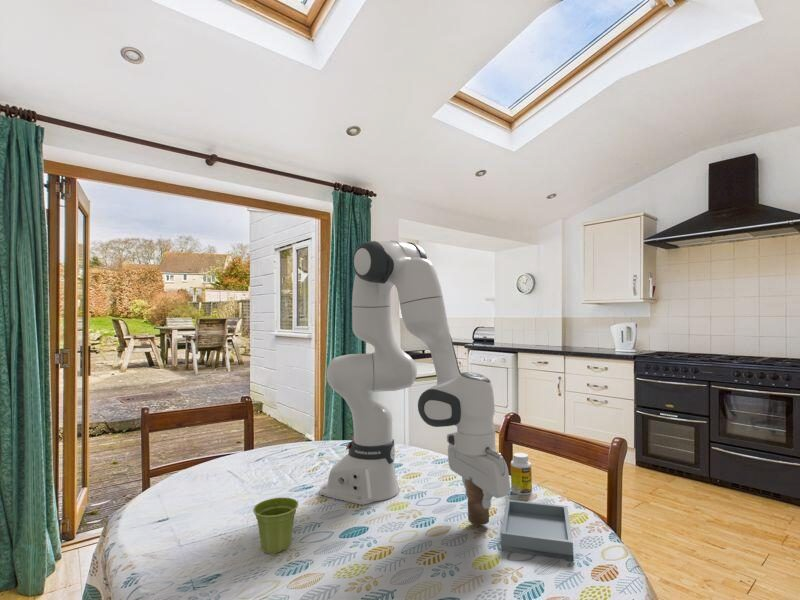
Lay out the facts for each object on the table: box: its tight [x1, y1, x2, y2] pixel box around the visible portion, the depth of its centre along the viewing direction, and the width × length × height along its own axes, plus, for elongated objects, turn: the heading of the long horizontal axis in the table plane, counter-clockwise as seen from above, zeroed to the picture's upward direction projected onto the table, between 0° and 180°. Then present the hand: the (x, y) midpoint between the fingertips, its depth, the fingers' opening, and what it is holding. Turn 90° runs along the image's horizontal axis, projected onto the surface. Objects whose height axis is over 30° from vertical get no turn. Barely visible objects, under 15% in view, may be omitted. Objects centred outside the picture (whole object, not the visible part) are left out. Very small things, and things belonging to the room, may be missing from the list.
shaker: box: [467, 476, 490, 526], centre depth 100 cm, size 5×5×10 cm
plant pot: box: [252, 497, 299, 554], centre depth 93 cm, size 9×9×9 cm
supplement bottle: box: [510, 452, 533, 496], centre depth 118 cm, size 6×6×10 cm
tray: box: [500, 499, 574, 561], centre depth 95 cm, size 14×17×4 cm
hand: (477, 501), depth 100 cm, fingers closed on shaker, 5 cm apart
